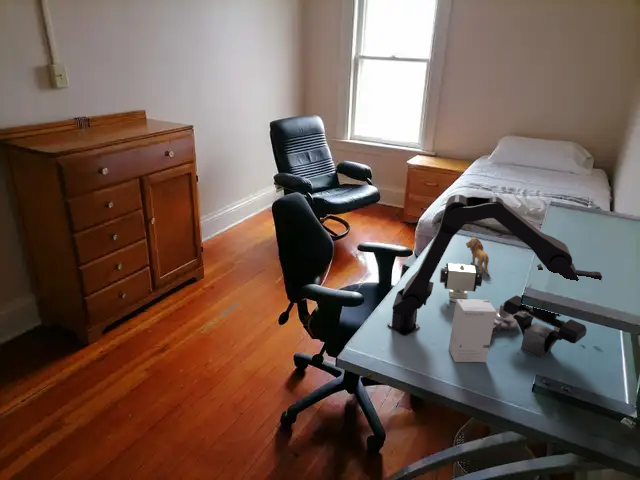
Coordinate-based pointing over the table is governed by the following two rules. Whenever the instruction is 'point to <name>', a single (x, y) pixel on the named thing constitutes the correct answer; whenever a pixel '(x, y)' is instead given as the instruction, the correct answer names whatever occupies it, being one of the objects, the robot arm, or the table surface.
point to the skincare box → (471, 330)
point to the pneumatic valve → (460, 280)
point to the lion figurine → (478, 254)
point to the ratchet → (503, 321)
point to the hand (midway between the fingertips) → (536, 346)
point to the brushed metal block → (536, 340)
